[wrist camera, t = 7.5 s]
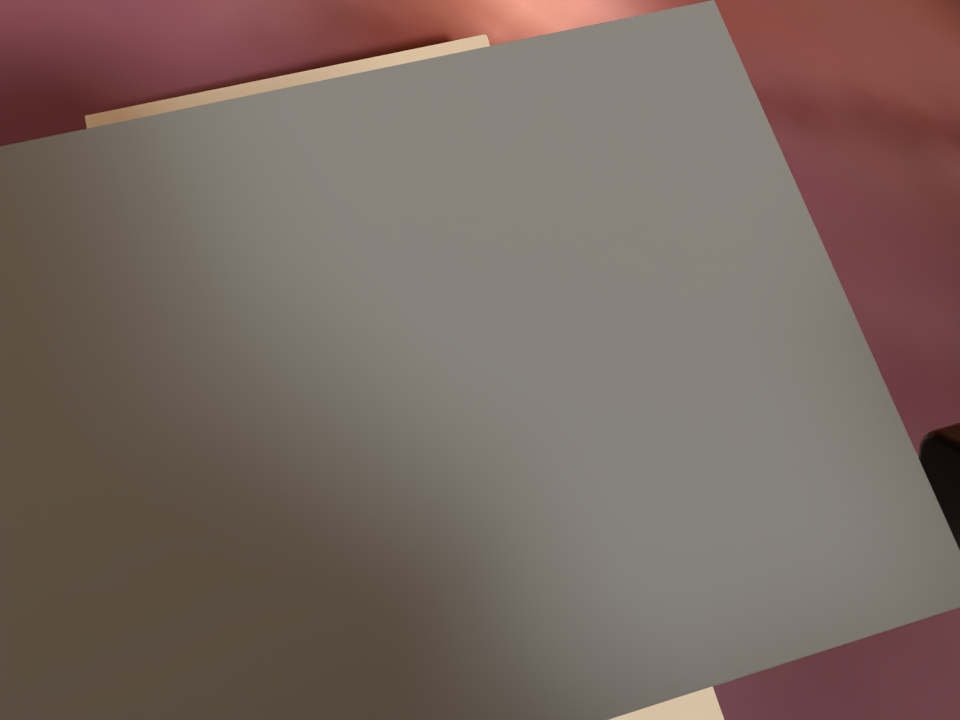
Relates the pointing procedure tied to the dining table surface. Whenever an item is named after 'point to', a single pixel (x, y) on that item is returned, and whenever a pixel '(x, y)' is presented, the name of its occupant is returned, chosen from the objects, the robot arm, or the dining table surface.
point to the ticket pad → (684, 716)
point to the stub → (440, 399)
